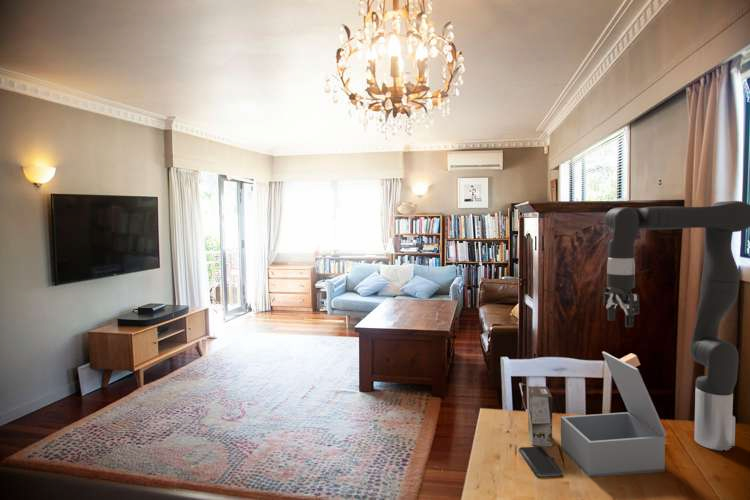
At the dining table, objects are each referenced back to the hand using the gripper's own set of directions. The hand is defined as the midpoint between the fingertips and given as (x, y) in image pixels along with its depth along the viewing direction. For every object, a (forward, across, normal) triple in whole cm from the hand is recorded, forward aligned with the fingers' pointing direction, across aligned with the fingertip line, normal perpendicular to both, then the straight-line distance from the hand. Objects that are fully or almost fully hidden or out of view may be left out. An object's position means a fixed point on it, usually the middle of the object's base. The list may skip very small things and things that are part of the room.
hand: (620, 323), depth 139 cm
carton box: (+38, -9, +8) cm, 40 cm away
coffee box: (+39, +6, +23) cm, 45 cm away
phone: (+39, -7, +30) cm, 49 cm away
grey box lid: (+18, -9, +2) cm, 20 cm away
